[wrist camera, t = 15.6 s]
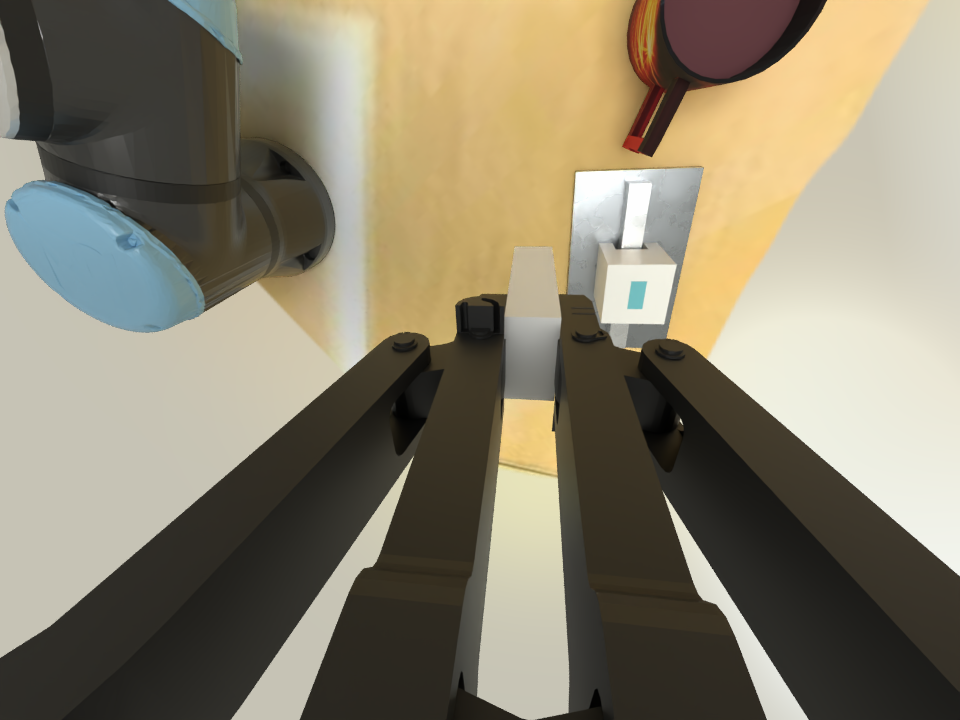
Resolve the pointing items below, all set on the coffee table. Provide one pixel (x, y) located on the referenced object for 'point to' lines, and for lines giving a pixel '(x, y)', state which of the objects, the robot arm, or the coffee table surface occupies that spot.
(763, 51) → the mug
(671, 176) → the rail plate
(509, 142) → the coffee table surface
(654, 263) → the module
